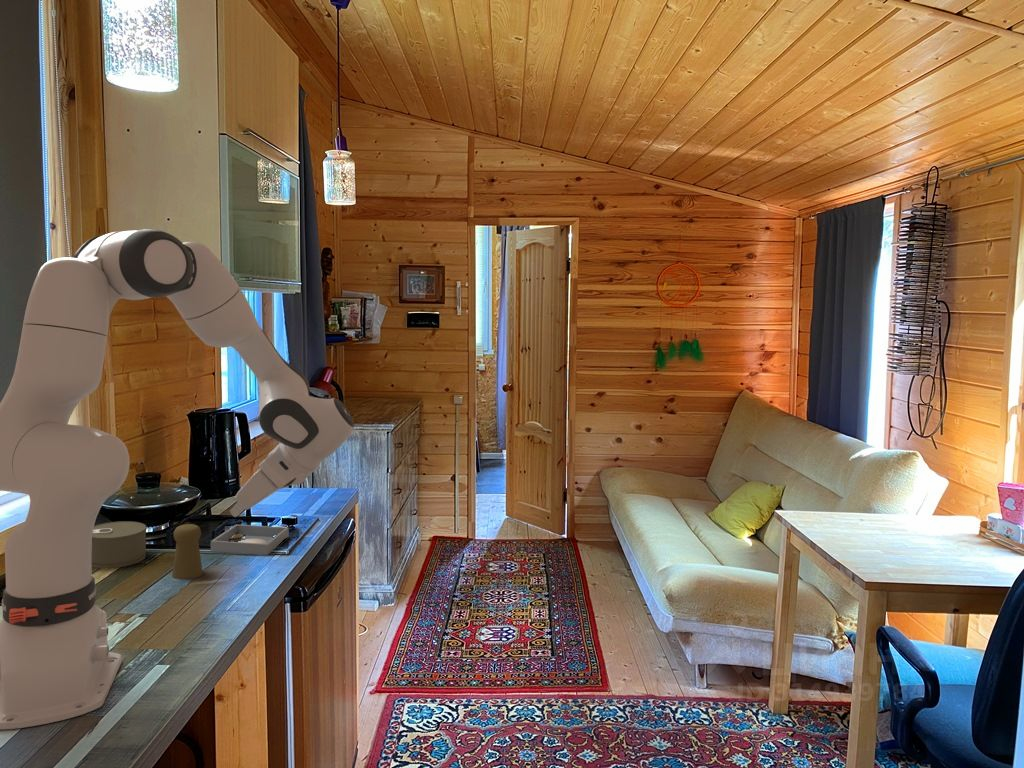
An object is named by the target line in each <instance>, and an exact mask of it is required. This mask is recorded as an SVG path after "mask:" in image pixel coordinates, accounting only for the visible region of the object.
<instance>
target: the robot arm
mask: <svg viewBox="0 0 1024 768" xmlns="http://www.w3.org/2000/svg"><path fill="white" fill-rule="evenodd" d="M163 297H164V298H165V297H166V298H167V299H168V300H169V301H170V302H171V303H172V304H173V305H174V307H175V308H176V311H177V312H178V313H179V315H180V316H181V318H182V319H183V320H184V322H185V323H186V325H187V326H188V328H189V329H190V330H191V332H193V333H194V334H195V336H197V337H198V339H199V340H201V341H202V342H203V343H204V345H206V346H209V347H214V348H219V349H220V348H229V347H232V349H234V350H235V351H236V352H237V353H238V355H239V356H240V358H241V359H242V360H243V362H244V363H245V364H246V366H247V367H248V368H249V369H250V371H251V372H252V373H253V376H255V378H256V380H257V387H258V389H257V390H258V395H259V399H258V401H259V402H258V403H259V406H258V422H259V426H260V428H261V430H262V432H264V433H265V434H266V435H267V436H268V437H270V438H271V439H273V440H274V441H276V442H279V443H278V445H276V446H275V447H273V449H272V450H271V451H270V452H269V453H268V455H267V456H266V457H265V458H264V459H263V460H262V461H261V462H260V463H259V464H258V469H257V470H256V471H255V472H254V473H253V474H252V475H251V477H250V478H248V480H247V481H246V482H245V484H244V485H242V487H240V489H239V490H238V491H237V493H236V494H235V496H234V500H235V501H236V504H235V505H234V506H233V507H232V508H231V509H230V510H229V513H230V514H231V515H232V516H233V517H234V518H237V517H238V516H239V515H241V514H242V513H243V512H244V511H247V510H248V511H249V509H251V508H253V507H254V506H256V505H257V504H259V503H261V502H262V501H263V500H265V499H267V498H268V497H270V496H271V495H273V494H274V493H277V492H278V491H280V490H281V489H284V488H287V487H289V486H293V485H295V486H296V485H297V486H298V485H301V484H302V483H303V482H304V481H305V480H306V479H307V478H308V477H309V476H311V475H312V473H314V472H315V471H316V470H317V469H318V468H319V466H320V464H321V463H322V462H323V460H325V459H326V458H328V457H331V456H332V455H333V454H334V453H335V452H336V451H338V449H340V447H341V446H342V445H343V444H344V443H345V442H346V441H347V439H348V438H349V437H350V436H351V434H352V433H353V431H354V427H355V426H354V424H355V423H354V419H353V417H352V415H351V412H350V411H349V409H348V408H347V406H346V405H345V404H344V403H343V402H342V401H341V400H340V399H338V398H335V397H332V398H320V397H315V396H311V395H310V389H311V388H310V383H309V381H308V378H307V377H306V376H305V374H304V373H303V372H302V371H300V370H299V369H298V368H296V367H295V366H293V365H292V364H290V363H289V362H287V361H286V360H285V359H284V358H283V357H282V356H281V354H280V353H279V351H278V350H277V349H276V347H275V346H274V345H273V343H272V341H271V340H270V339H269V337H268V335H266V333H265V332H264V331H263V329H262V327H261V326H260V325H259V322H258V321H257V318H256V316H255V314H254V312H253V309H252V307H251V305H250V303H249V301H248V299H247V297H246V295H245V293H244V292H243V291H242V289H241V287H240V286H239V284H238V282H237V281H236V280H235V278H234V277H233V275H232V274H231V272H229V270H228V269H227V267H226V266H225V265H224V263H222V262H221V260H220V259H219V258H218V257H217V255H216V254H214V252H213V251H212V250H210V248H209V247H207V246H206V245H205V244H204V243H201V242H199V241H181V240H180V239H179V238H177V237H176V236H174V235H173V234H171V233H169V232H167V231H166V232H165V231H163V230H159V229H154V228H153V229H152V228H144V229H139V230H132V229H129V230H128V229H123V230H122V229H121V230H117V231H113V232H110V233H106V234H99V235H96V236H94V237H92V238H90V239H88V240H87V241H86V242H85V243H83V244H82V245H81V246H80V247H78V249H77V250H76V252H75V254H74V255H73V256H72V257H58V258H57V257H56V258H54V259H50V260H48V261H47V262H45V263H44V264H42V265H41V267H40V268H39V270H38V272H37V274H36V277H35V280H34V282H33V284H32V287H31V291H30V293H29V296H28V300H27V303H26V308H25V312H24V318H23V321H22V324H23V325H22V329H21V336H20V340H19V341H20V342H19V347H18V353H17V358H16V361H15V366H14V372H13V375H12V377H11V381H10V384H9V386H8V388H7V390H6V392H5V393H4V396H3V398H2V399H1V401H0V491H2V492H3V491H4V492H8V493H9V492H10V493H15V494H17V493H18V494H23V495H28V496H29V497H28V498H29V509H28V513H27V515H26V518H25V521H24V522H23V523H22V524H21V525H18V526H17V527H16V528H15V529H13V530H12V531H11V532H9V534H8V536H7V537H6V539H5V543H4V564H5V567H4V568H5V588H4V589H3V590H2V599H1V608H2V619H1V620H0V730H12V729H13V730H14V729H23V728H30V727H36V726H42V725H46V724H50V723H54V722H55V723H57V722H59V721H64V720H68V719H71V718H72V719H73V718H75V717H78V716H82V715H84V714H88V713H89V712H90V713H91V712H92V711H95V710H97V709H100V708H101V707H102V706H103V705H104V703H105V700H106V698H107V697H108V694H109V692H110V690H111V688H112V685H113V683H114V681H115V678H116V676H117V674H118V671H119V668H120V667H121V664H122V661H123V659H122V658H123V657H122V654H120V653H117V652H111V651H110V647H109V644H108V635H109V627H108V623H107V622H108V621H107V612H106V611H105V610H103V609H102V608H101V607H99V606H98V605H97V604H95V603H96V597H97V596H96V593H97V586H96V581H95V580H96V579H95V577H94V576H93V574H92V568H93V567H92V533H93V527H94V526H95V523H96V519H97V518H98V517H97V516H98V515H99V513H100V510H101V508H102V506H103V505H104V503H105V502H106V501H107V500H108V499H109V498H110V497H111V496H112V495H114V494H115V493H116V492H118V490H119V489H120V488H121V487H122V486H123V484H124V483H125V481H126V479H127V477H128V475H129V471H130V466H131V465H130V464H131V463H130V461H131V460H130V454H129V450H128V448H127V446H126V444H125V442H124V440H122V439H121V438H119V437H117V436H116V435H113V434H111V433H108V432H106V431H103V430H100V429H97V428H96V427H95V428H94V427H92V426H87V425H78V424H77V425H76V424H69V421H70V418H71V417H72V414H73V411H74V410H75V408H76V407H77V406H78V404H79V403H80V402H81V401H82V400H83V399H84V398H85V397H87V396H89V395H92V394H93V393H94V392H95V391H96V390H97V389H98V388H99V386H100V383H101V381H102V377H103V376H102V375H103V370H104V369H103V368H104V361H105V354H106V350H107V341H108V333H109V325H110V324H109V323H110V316H111V314H112V311H113V308H114V306H115V305H116V304H117V302H118V301H119V300H120V299H121V300H127V301H129V300H130V301H141V300H147V299H152V298H163Z"/></svg>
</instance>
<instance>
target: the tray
mask: <svg viewBox="0 0 1024 768" xmlns="http://www.w3.org/2000/svg"><path fill="white" fill-rule="evenodd" d="M289 531H290V529H289V527H287V526H286V527H285V526H284V527H283V526H271V525H270V526H268V525H251V524H236V523H235V524H234V525H233V526H231V527H230V528H228V529H227V530H225V531H224V532H222V533H221V534H219V535H218V536H216V537H215V538H213V539H212V540H210V552H211V553H222V554H223V553H224V554H225V553H227V554H239V555H241V554H242V555H243V554H244V555H257V556H268V555H270V553H272V552H273V551H274V550H275V549H277V548H276V547H277V546H278V545H279V544H280V543H281V542H282V541H283V540H284V539H285V538H287V537H288V538H289V535H290V534H289ZM236 533H241V534H244V535H246V536H245V539H263V540H265V541H266V542H267V543H266V544H261V543H245V542H229V541H228V540H229V539H230V538H231V537H232V536H233V535H234V534H236ZM274 535H276V536H275V537H274V538H272V537H273V536H274ZM288 538H287V539H288ZM282 543H283V542H282ZM282 543H281V544H282ZM281 544H280V545H281ZM280 545H279V546H280ZM279 546H278V547H279ZM273 549H274V550H273Z"/></svg>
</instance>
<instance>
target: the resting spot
mask: <svg viewBox="0 0 1024 768" xmlns="http://www.w3.org/2000/svg"><path fill="white" fill-rule="evenodd" d="M238 542H245V543H261V544H266V543H267V542H266V541H265V540H263V539H245V540H241V541H238Z"/></svg>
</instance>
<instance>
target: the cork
mask: <svg viewBox="0 0 1024 768" xmlns="http://www.w3.org/2000/svg"><path fill="white" fill-rule="evenodd" d="M201 535H202V531H201V527H200V526H199V525H196V524H192V523H191V524H190V523H187V524H186V523H185V524H180V525H179V526H177V527H176V528H175V529H174V531H173V539H174V541H175V542H176V543H175V550H174V552H175V553H174V559H173V567H172V573H171V577H172V578H174V579H176V580H192V579H197V578H198V577H201V576H202V575H203V573H204V572H203V565H202V559H201V551H200V545H199V540H200V539H201Z"/></svg>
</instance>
